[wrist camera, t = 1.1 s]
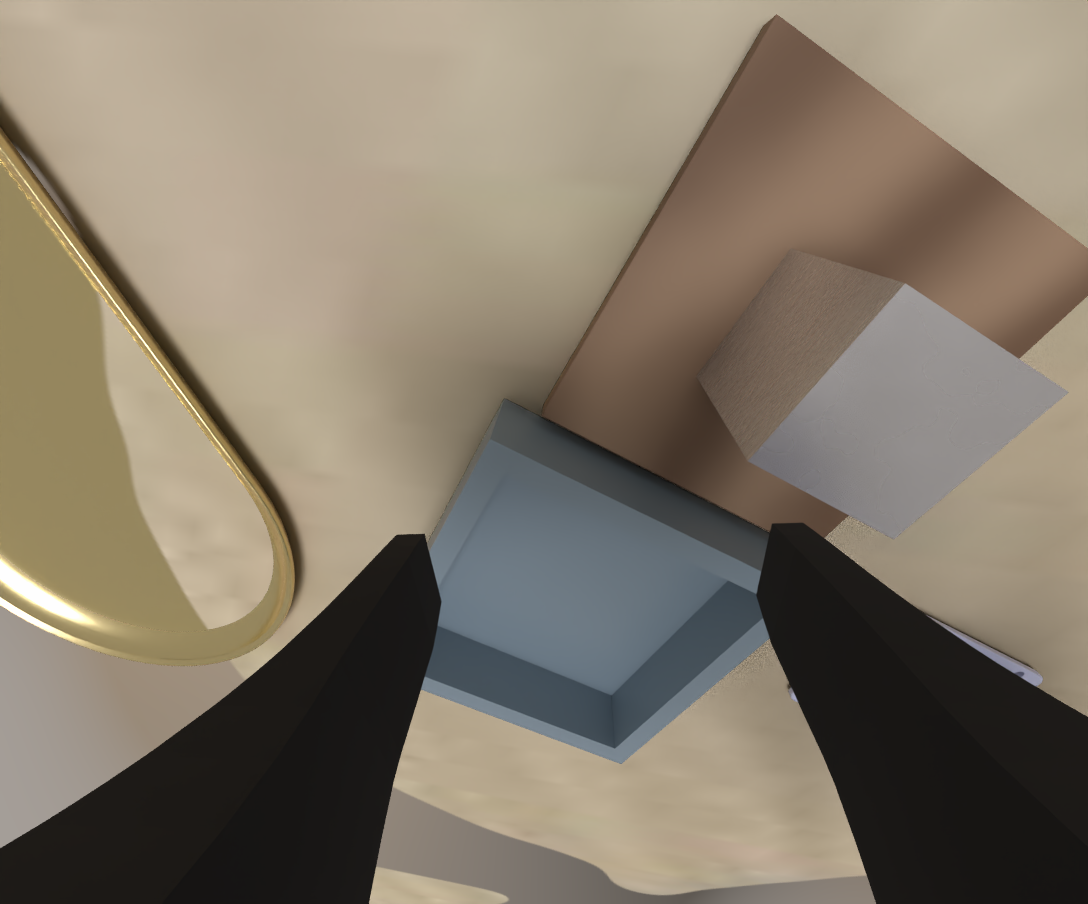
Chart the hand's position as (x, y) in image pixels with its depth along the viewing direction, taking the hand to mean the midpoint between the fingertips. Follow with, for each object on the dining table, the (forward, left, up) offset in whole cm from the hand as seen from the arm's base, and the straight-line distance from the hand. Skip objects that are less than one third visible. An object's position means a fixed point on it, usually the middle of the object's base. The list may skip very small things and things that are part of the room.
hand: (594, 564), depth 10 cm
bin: (-4, +9, -10) cm, 14 cm away
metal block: (-5, -5, -9) cm, 11 cm away
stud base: (-5, -5, -10) cm, 12 cm away
